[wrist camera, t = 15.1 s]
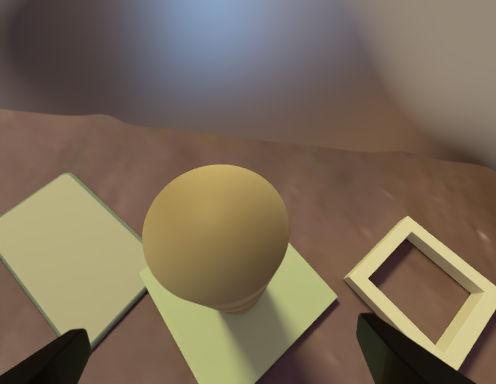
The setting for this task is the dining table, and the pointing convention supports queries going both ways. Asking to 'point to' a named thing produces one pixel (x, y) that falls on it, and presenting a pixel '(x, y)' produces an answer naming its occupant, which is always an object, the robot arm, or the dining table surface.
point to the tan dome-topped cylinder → (216, 237)
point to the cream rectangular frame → (482, 291)
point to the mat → (244, 324)
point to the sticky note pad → (73, 257)
